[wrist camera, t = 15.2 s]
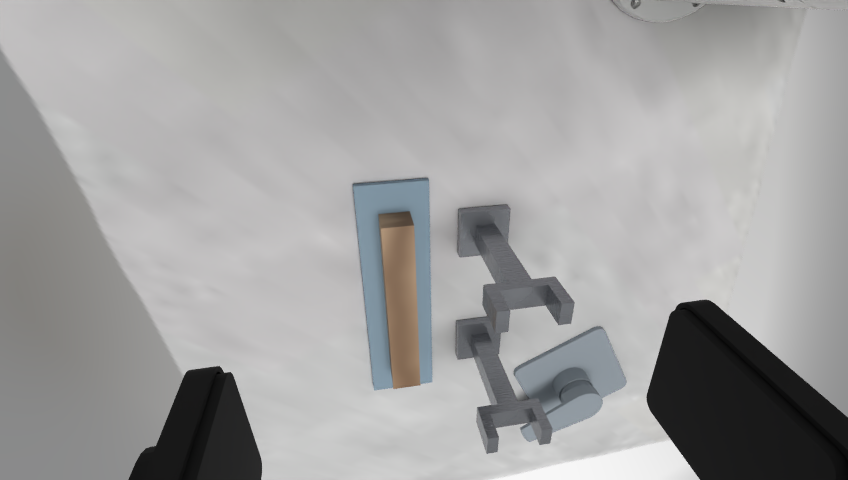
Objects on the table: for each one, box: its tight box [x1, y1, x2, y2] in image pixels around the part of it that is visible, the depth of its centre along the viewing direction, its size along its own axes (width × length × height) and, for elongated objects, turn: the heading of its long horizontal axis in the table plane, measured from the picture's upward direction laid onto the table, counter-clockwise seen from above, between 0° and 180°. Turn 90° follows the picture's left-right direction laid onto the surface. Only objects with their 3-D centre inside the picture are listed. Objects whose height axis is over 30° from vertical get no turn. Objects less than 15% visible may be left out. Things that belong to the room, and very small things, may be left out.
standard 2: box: [458, 205, 575, 333], centre depth 40 cm, size 6×5×14 cm
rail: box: [378, 211, 420, 389], centre depth 47 cm, size 3×20×3 cm, turn 2°
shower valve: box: [514, 326, 626, 442], centre depth 58 cm, size 12×6×15 cm
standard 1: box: [456, 317, 553, 454], centre depth 47 cm, size 6×5×14 cm
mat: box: [353, 178, 432, 390], centre depth 49 cm, size 7×26×1 cm, turn 1°
